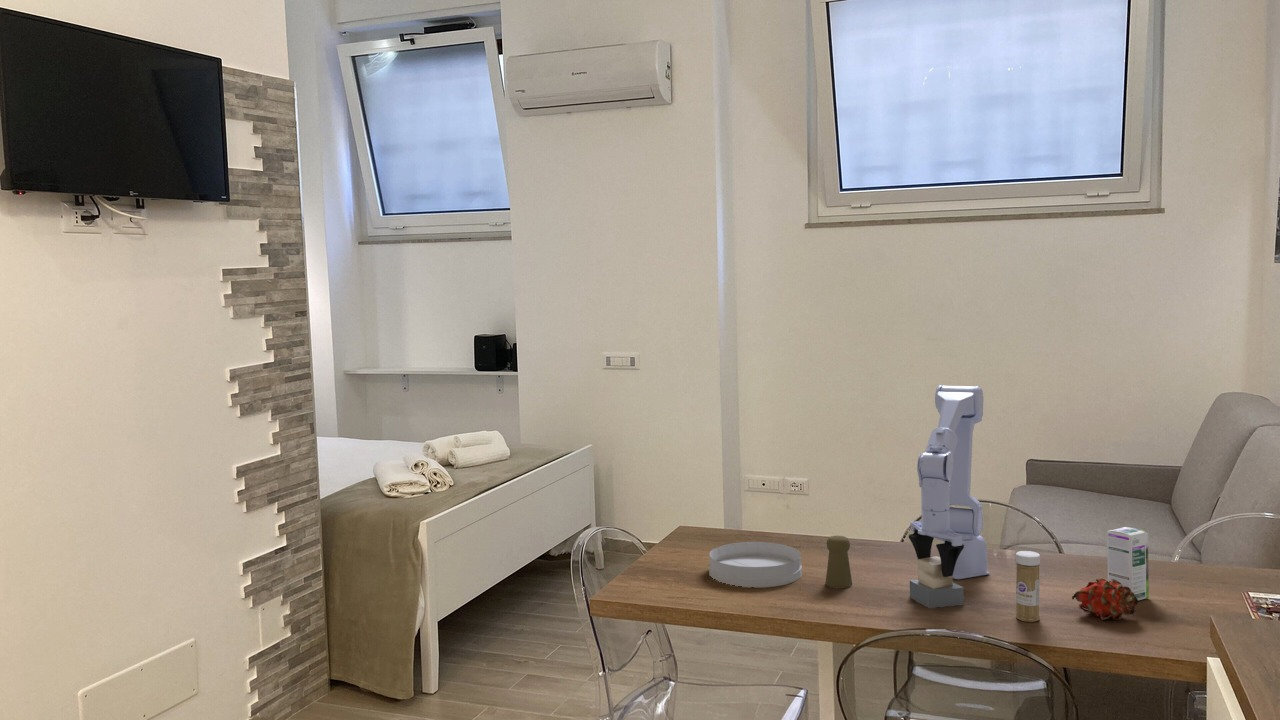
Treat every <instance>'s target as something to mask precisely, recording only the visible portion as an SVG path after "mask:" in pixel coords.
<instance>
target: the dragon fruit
mask: <svg viewBox="0 0 1280 720" xmlns="http://www.w3.org/2000/svg"><path fill="white" fill-rule="evenodd" d="M1111 580H1113V581H1109V582H1108V580H1106V579H1104V578H1095V581H1089V582H1088V583H1087V585H1086V586H1085V587H1082V588H1081V589H1080V590H1078V591H1076V592H1074V593H1073V595H1072V596H1071V598H1072V600H1076V601H1077V602H1079V603H1080V604H1078V609H1080V610H1081V611H1083V612H1084V613H1087V614H1092V615H1093V616H1094V617H1100V619H1101V620H1102V621H1105V620H1109V619H1111V618H1112V619H1113V620H1115V621H1116V620H1117V621H1118V620H1119V621H1120V620H1122V616H1123V615H1124V616H1129V615H1131V616H1132V615H1134V613H1135V612H1136V611H1137V610H1136V609H1135V607H1136V606H1138V603H1139V600H1138V599H1137V598H1136V595H1135V594H1134V593H1133V592H1131V590H1130V588H1129V587H1127V586H1123V585H1122V584H1121V583H1120V582H1118V581H1117V580H1115V579H1111ZM1110 617H1111V618H1110Z"/></svg>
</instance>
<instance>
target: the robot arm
mask: <svg viewBox="0 0 1280 720" xmlns="http://www.w3.org/2000/svg"><path fill="white" fill-rule="evenodd" d="M934 404H935V405H934V406H935V408H936V410H937V412H938V414H939V419H938V424H937V428H934V429H933V430H932V431H931V432H930V435H929V437H928V441H927V445H926V448H925V450H924V452H923V453H922V454H919V456H918V457H917V458H918V459H917V464H916V465H917V467H916V469H917V477H918V485H919V488H921V491H920V492H921V493H920V494H921V497H920V499H921V503H920V504H921V521H919V520H917V521H910V532H913V533H910V534H908V539H909V540H910V542H911V544H912V546H913V548H914V551H915V554H916V558H917V560H918V559H923V558H929V557H932V556H931V554H932V553H931V552H932V546H933V543H934V539H936V540H940V541H942V543H937V544H936V545H935V546H936V548H937V551H938V554H939V557H940V559H941V569H942V575H943V577H949V576H953V579H954V580H963V579H968V578H969V579H971V578H974V577H975V578H976V577H980V576H986V575H990V572H989V571H988V555H987V554H988V548H987V542H986V541H985V538H984V537H983V536H982V535H981V534H982V533H983V527H984V515H983V506H982V503H981V502H980V501H979V500H978V499H977V498H975V497H974V496H973V495H972V494H971V483H972V481H971V479H972V461H973V460H972V457H973V456H972V455H973V437H974V434H973V433H974V428H975V424H979V423H981V422H982V420H983V415H984V414H983V413H984V393H983V389H982V387H981V386H979V385H975V386H974V385H970V386H969V385H968V386H966V385H943V384H939V385H938V386H937V388H936V390H935V393H934ZM951 506H952V507H951ZM953 506H957V507H953ZM958 506H959V507H958ZM964 507H967V508H964Z"/></svg>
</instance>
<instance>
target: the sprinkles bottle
mask: <svg viewBox="0 0 1280 720" xmlns="http://www.w3.org/2000/svg"><path fill="white" fill-rule="evenodd" d="M1015 563H1016V581H1015V582H1016V585H1015V603H1016V605H1015V606H1016V609H1015V610H1016V611H1015V618H1016V619H1017V620H1019V621H1022V622H1025V623H1027V622H1028V623H1035V622H1038V621H1040V618H1041V617H1040V579H1041V578H1040V566H1041V555H1040V554H1039V553H1038V552H1035V551H1029V550H1020V551H1017V552H1016V553H1015Z"/></svg>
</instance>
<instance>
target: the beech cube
mask: <svg viewBox="0 0 1280 720" xmlns="http://www.w3.org/2000/svg"><path fill="white" fill-rule="evenodd" d="M917 573H918V575H917V576H918V577H917V578H918V582H920V583H922V584H924V585H926V586H929V587H931V588H933V589H934V588H939V587H945V586H950V585H953V582H954V580H953V579H954V578H953V576H949V577H943V575H942V569H941V559H940V556H937V555H935V556H931V557H929V558H923V559H918V558H917Z"/></svg>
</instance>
